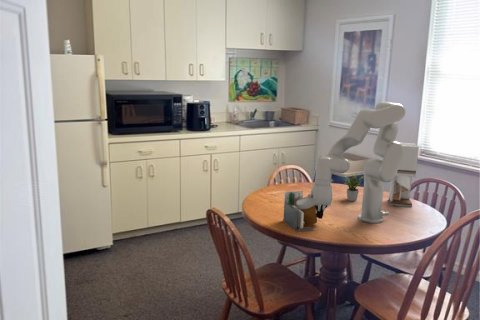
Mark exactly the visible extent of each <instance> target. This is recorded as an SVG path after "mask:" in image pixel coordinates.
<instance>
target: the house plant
mask: <svg viewBox="0 0 480 320" xmlns="http://www.w3.org/2000/svg"><path fill="white" fill-rule="evenodd" d="M351 174H352V178H350V177H349V176H348V175H347V174H344V175H345V176H344V178H345V179H346V180H347V182H345V183H343V185H346V186H347V188H346V198H347V200H348V201H349V202H350V201H351V202H356V201H357V199H358V196H359V192H360V189H358V187H360V184H361V182H362V181H363V182H364V179H363V178H364V175H363V176H360V177H359V178H358V179H357V176H358V175H357V173H355V174H353V173H351ZM361 186H362V187H364V184H361Z"/></svg>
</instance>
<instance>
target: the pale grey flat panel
mask: <svg viewBox="0 0 480 320" xmlns="http://www.w3.org/2000/svg"><path fill="white" fill-rule="evenodd" d="M294 197H295V194H294V193H292V206H293V207H294V208H295V209H297V210H298V212H297V227H298V228H304V221H303V217H304V213H303V212H302V211H301V210H300V209H298V208H297V207H296V206H294Z"/></svg>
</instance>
